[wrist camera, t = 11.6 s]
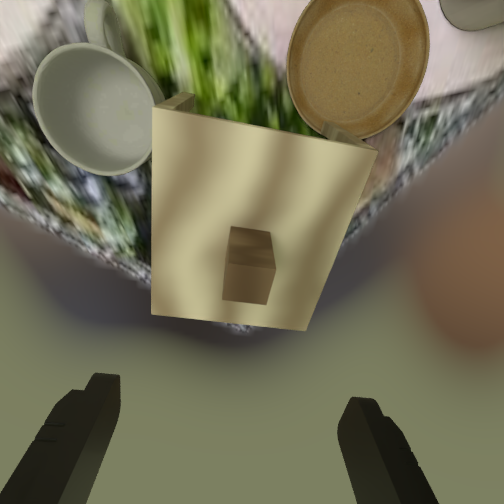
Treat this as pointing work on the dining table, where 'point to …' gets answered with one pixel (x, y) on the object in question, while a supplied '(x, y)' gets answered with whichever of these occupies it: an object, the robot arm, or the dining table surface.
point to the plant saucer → (357, 62)
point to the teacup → (97, 99)
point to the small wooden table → (247, 215)
